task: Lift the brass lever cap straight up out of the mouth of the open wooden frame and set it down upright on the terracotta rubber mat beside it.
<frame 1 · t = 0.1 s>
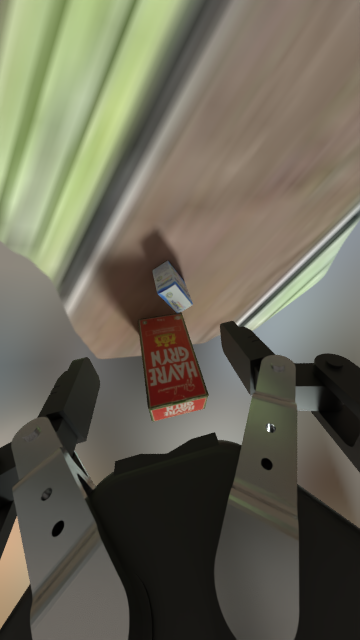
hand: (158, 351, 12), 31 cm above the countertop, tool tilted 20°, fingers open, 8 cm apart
food packaging: (161, 325, 59), on the countertop
medicine box: (168, 275, 46), on the countertop
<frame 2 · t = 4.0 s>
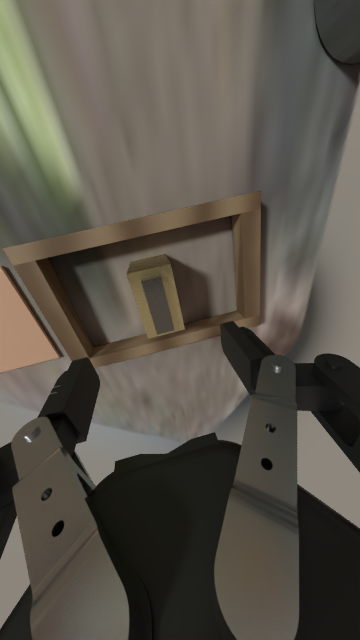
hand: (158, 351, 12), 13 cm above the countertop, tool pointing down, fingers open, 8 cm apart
open wooden frame: (155, 287, 23), on the countertop
lever cap: (157, 296, 21), in the open wooden frame
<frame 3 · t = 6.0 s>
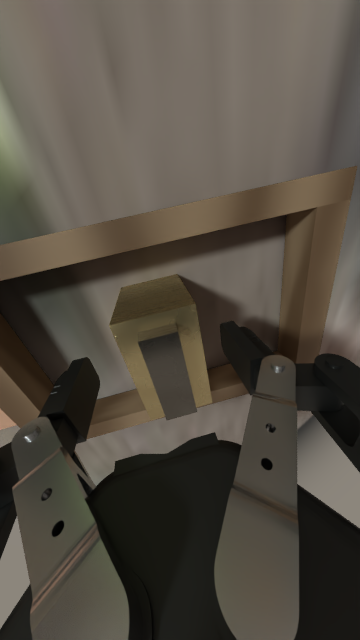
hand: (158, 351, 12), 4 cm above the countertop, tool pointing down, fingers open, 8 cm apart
open wooden frame: (161, 323, 15), on the countertop
lever cap: (165, 345, 12), in the open wooden frame
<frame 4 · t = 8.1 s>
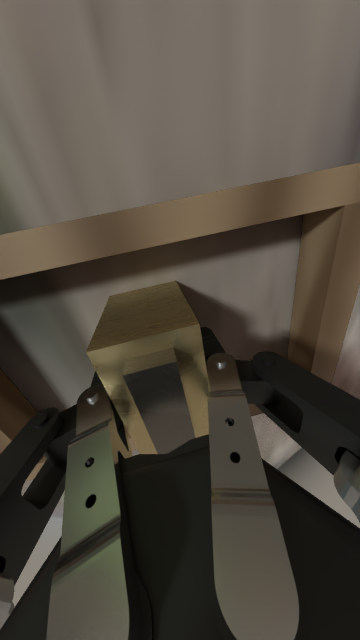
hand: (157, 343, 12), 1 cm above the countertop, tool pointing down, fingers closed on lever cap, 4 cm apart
open wooden frame: (156, 337, 13), on the countertop
lever cap: (160, 367, 10), in the open wooden frame, touching gripper
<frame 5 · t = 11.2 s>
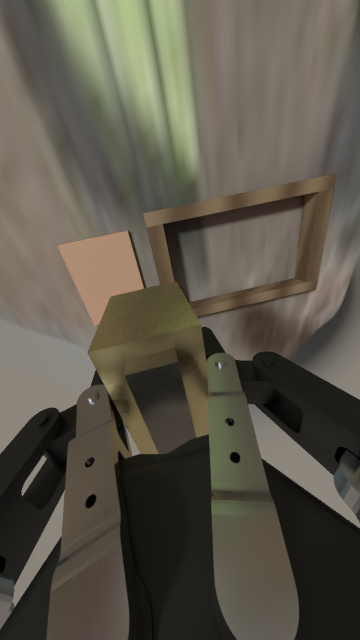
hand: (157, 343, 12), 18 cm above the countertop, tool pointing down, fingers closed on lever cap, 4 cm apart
open wooden frame: (235, 254, 29), on the countertop
lever cap: (161, 367, 10), point 20 cm above the countertop, touching gripper
mat: (109, 281, 28), on the countertop
when the fingers open (3 cm above the countertop, at t = 14.6 s): lever cap drops 1 cm, resting on mat.
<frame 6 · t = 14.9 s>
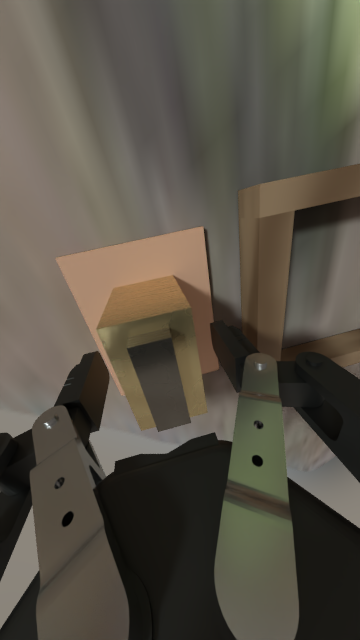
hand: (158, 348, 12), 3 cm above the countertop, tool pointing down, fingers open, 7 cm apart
lever cap: (158, 351, 12), on the mat
mat: (154, 323, 15), on the countertop
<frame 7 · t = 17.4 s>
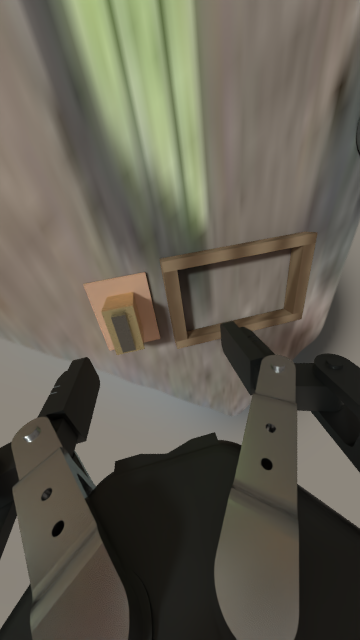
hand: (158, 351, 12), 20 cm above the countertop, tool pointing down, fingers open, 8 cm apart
open wooden frame: (235, 290, 34), on the countertop
lever cap: (125, 323, 28), on the mat
mat: (126, 313, 31), on the countertop
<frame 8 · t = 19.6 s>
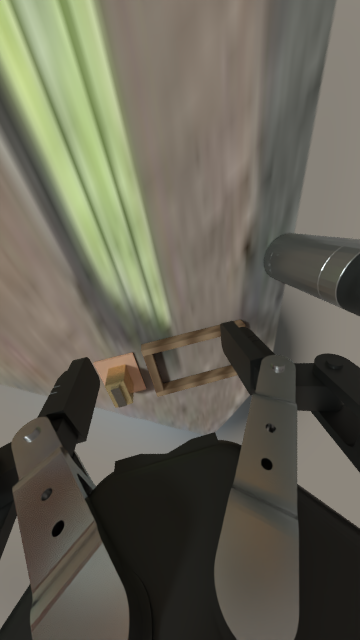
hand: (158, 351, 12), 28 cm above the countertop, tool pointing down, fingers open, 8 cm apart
open wooden frame: (196, 356, 49), on the countertop
lever cap: (120, 386, 44), on the mat
mat: (121, 375, 47), on the countertop
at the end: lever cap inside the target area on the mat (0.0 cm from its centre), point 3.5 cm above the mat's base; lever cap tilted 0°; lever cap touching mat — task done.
